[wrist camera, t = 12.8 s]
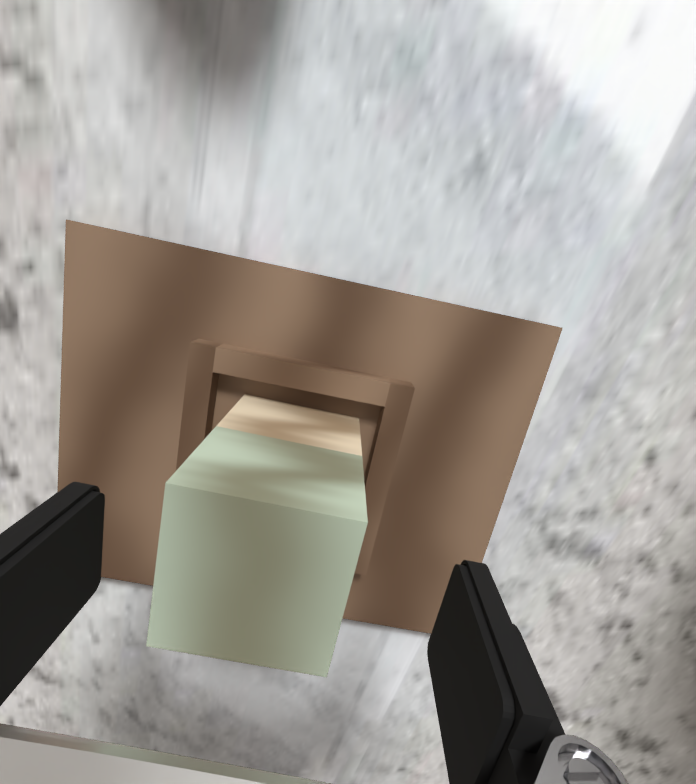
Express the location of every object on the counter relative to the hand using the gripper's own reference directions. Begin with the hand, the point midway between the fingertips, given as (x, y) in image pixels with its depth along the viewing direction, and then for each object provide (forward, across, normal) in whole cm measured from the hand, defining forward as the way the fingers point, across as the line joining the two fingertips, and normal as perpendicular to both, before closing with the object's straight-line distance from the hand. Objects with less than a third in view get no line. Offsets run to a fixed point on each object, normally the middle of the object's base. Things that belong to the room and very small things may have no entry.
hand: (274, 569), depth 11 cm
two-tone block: (+8, +1, +1) cm, 8 cm away
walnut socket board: (+9, +1, +1) cm, 9 cm away
